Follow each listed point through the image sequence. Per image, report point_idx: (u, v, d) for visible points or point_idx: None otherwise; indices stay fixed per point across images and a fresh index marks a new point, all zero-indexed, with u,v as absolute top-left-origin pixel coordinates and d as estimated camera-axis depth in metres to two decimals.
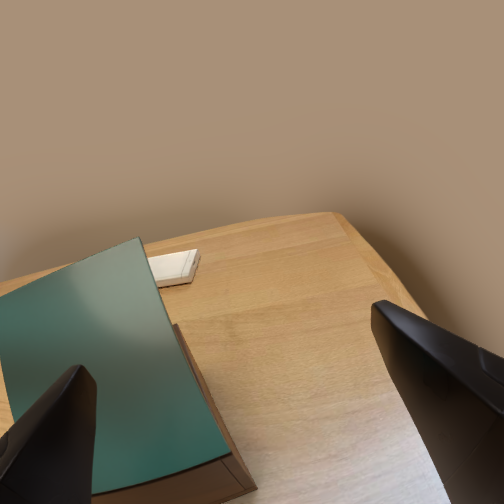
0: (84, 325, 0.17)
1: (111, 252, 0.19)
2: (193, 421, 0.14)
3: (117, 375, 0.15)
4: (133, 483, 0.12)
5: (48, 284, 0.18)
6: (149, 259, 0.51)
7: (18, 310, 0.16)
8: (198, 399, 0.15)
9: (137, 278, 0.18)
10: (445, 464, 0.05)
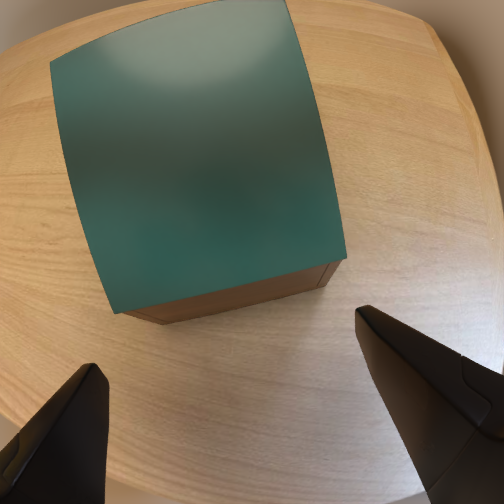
0: (197, 85, 0.13)
1: (241, 2, 0.12)
2: (320, 218, 0.15)
3: (239, 152, 0.14)
4: (235, 285, 0.15)
5: (141, 32, 0.12)
6: None
7: (91, 69, 0.12)
8: (331, 195, 0.15)
9: (278, 38, 0.12)
10: (427, 473, 0.05)
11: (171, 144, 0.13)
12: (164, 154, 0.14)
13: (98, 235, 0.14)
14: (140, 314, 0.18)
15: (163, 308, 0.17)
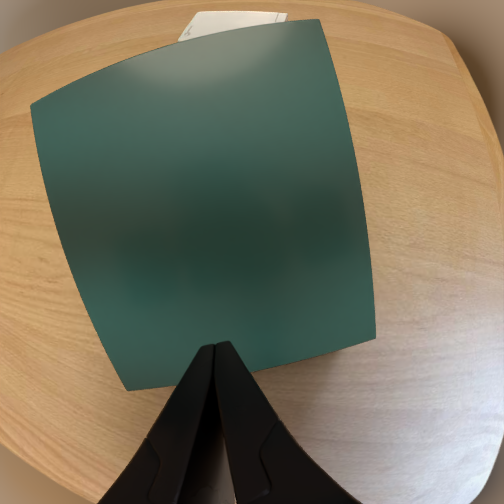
0: (215, 147, 0.11)
1: (269, 31, 0.10)
2: (353, 302, 0.13)
3: (267, 233, 0.12)
4: (257, 369, 0.14)
5: (140, 70, 0.10)
6: (222, 13, 0.32)
7: (80, 118, 0.10)
8: (366, 278, 0.13)
9: (315, 85, 0.10)
10: None
11: (184, 221, 0.12)
12: (176, 233, 0.12)
13: (104, 317, 0.13)
14: None
15: None
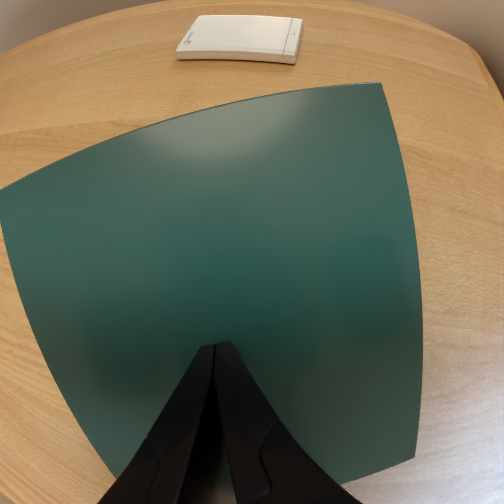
0: (241, 278, 0.08)
1: (316, 101, 0.08)
2: (396, 433, 0.10)
3: (306, 380, 0.09)
4: None
5: (131, 157, 0.08)
6: (228, 17, 0.28)
7: (56, 222, 0.08)
8: (414, 408, 0.09)
9: (378, 184, 0.08)
10: None
11: None
12: None
13: (109, 449, 0.09)
14: None
15: None
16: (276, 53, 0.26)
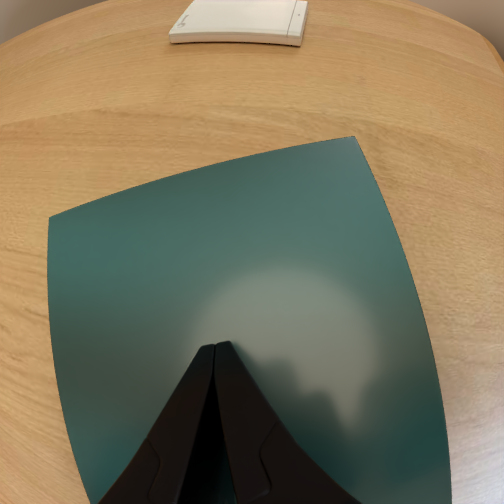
0: (245, 287, 0.09)
1: (304, 153, 0.11)
2: (424, 470, 0.07)
3: (312, 396, 0.08)
4: None
5: (165, 194, 0.11)
6: None
7: (96, 240, 0.10)
8: (440, 437, 0.07)
9: (361, 208, 0.10)
10: None
11: None
12: None
13: (95, 475, 0.08)
14: None
15: None
16: (279, 34, 0.22)
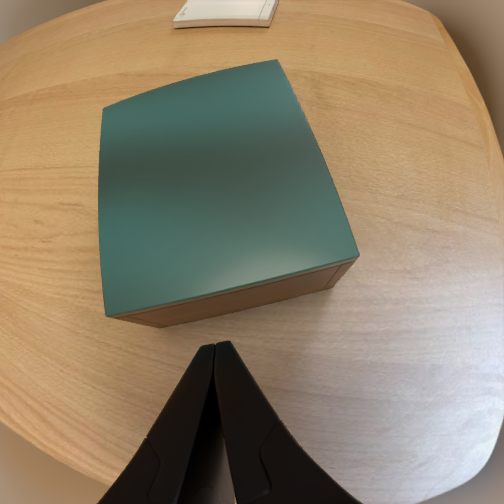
0: (212, 119, 0.17)
1: (248, 67, 0.18)
2: (324, 215, 0.15)
3: (245, 163, 0.16)
4: (237, 285, 0.14)
5: (173, 89, 0.18)
6: None
7: (134, 112, 0.18)
8: (332, 194, 0.15)
9: (276, 87, 0.17)
10: None
11: (188, 159, 0.16)
12: (181, 166, 0.16)
13: (110, 233, 0.15)
14: (135, 319, 0.16)
15: (160, 313, 0.16)
16: (253, 18, 0.30)
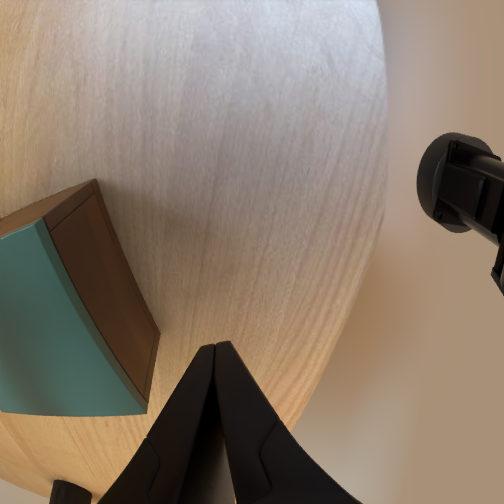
0: None
1: None
2: (9, 257, 0.11)
3: None
4: (88, 333, 0.13)
5: None
6: None
7: None
8: None
9: None
10: None
11: (10, 360, 0.14)
12: (17, 365, 0.14)
13: (84, 410, 0.16)
14: (147, 380, 0.18)
15: (136, 366, 0.17)
16: None
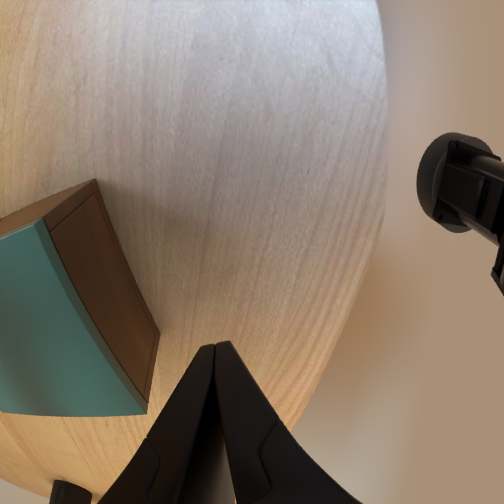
0: None
1: None
2: (9, 258, 0.11)
3: None
4: (87, 333, 0.13)
5: None
6: None
7: None
8: None
9: None
10: None
11: (9, 360, 0.14)
12: (17, 365, 0.14)
13: (84, 410, 0.16)
14: (147, 380, 0.18)
15: (135, 366, 0.17)
16: None
